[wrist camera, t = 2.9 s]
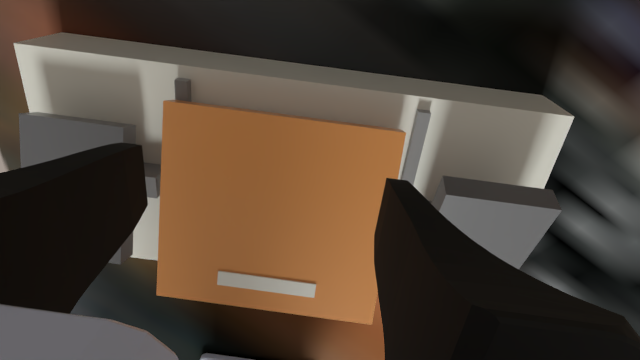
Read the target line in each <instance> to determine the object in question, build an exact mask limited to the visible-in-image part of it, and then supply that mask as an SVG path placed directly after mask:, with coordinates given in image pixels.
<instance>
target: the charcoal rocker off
mask: <svg viewBox="0 0 640 360" xmlns="http://www.w3.org/2000/svg"><path fill="white" fill-rule="evenodd" d="M19 129H20V155H21V168H23V167H27V166H31V165H35V164H39V163H43V162H47V161H50V160H54V159H57V158H61V157H64V156H68V155H71V154H75V153H78V152H82V151H85V150H89V149H93V148H96V147H100V146H104V145H108V144H113V143H121V142H122V143H130V144H136V125H132V124H124V123H117V122H109V121H102V120H94V119H87V118H79V117H72V116H64V115H57V114H49V113H42V112H31V113H19ZM131 255H133V232H132V233H131V234H130V236H129V237H128V238H127V240H126V241H125V242H124V243H123V245H122V246H121V247H120V248H119V250H118V251H117V252H116V253H115V255H114V256H113V257H112V258H111V259H110V261H109V262H108V263H115V264H122V263H123V262H124V261H125V260H127V259H128V258H129V257H130V256H131Z"/></svg>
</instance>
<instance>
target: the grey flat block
mask: <svg viewBox="0 0 640 360" xmlns="http://www.w3.org/2000/svg"><path fill="white" fill-rule="evenodd" d="M431 204H432V205H433V206H434V207H435V208H436V209H437V210H438V211H439V212H440V213H441V214H442V215H443V216H444V217H445V218H447V219H448V220H449V221H450V222H451V223H452V224H453V225H455V226H456V227H457V228H458V229H459V230H461V231H462V232H463V233H464V234H465V235H467V236H468V237H469V238H471V239H472V240H473V241H475V242H476V243H478V244H479V245H480V246H482V247H483V248H485V249H486V250H487V251H489V252H490V253H492V254H493V255H495V256H497V257H498V258H500V259H501V260H503V261H505V262H506V263H508V264H510V265H512V266H513V267H515V268H517V269H519V268H520V267H521V265H522V264H523V263H524V261H525V260H526V259H527V257H528V256H529V254H530V253H531V252H532V250H533V249H534V248H535V246H536V245H537V244H538V242H539V241H540V239H541V238H542V237H543V235H544V234H545V233H546V231H547V230H548V228H549V227H550V226H551V224H552V223H553V222H554V220H555V219H556V218H557V216H558V215H559V213H560V212H561V211H562V209H561V207H560V205H559V203H558V201H557V199H556V196H555V194H554V192H553V190H548V189H541V188H533V187H526V186H518V185H511V184H503V183H496V182H488V181H481V180H473V179H466V178H458V177H451V176H442V178H441V181H440V183H439V186H438V188H437V191H436V193H435V196H434V198H433V201H432V203H431Z"/></svg>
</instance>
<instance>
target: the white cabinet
mask: <svg viewBox="0 0 640 360" xmlns="http://www.w3.org/2000/svg"><path fill="white" fill-rule="evenodd" d="M14 47H15V52H16V56H17V60H18V65H19V69H20V73H21V78H22V82H23V86H24V90H25V95H26V99H27V103H28V108H29V112H30V113H31V112H42V113H49V114H57V115H64V116H72V117H79V118H87V119H94V120H102V121H109V122H117V123H124V124H132V125H136V144H137V145H142V150H143V160H144V170H145V180H146V190H147V200H148V206H147V208H146V209H145V211H144V213H143V215H142V217H141V219H140V220H139V222H138V224H137V225H136V227H135V229H134V230H133V255H131V256H130V257H135V258H142V259H150V260H157V261H158V239H159V210H160V181H161V152H162V123H163V101H165V100H181V101H189V102H196V103H204V104H211V105H219V106H226V107H234V108H242V109H249V110H257V111H264V112H272V113H279V114H287V115H295V116H302V117H310V118H317V119H325V120H332V121H340V122H347V123H355V124H363V125H370V126H378V127H385V128H393V129H400V130H403V131H404V132H406V136H405V141H404V147H403V153H402V158H401V164H400V169H399V175H398V179H399V180H407V181H409V182H410V183H411V184H412V185H413V186H414V187H415V188H416V189H417V190H418V191H419V192H420V193H421V194H422V195H423V196H424V197H425V198H426V199H427V200H428V201H429V202H430V203H432V201H433V198H434V196H435V193H436V191H437V188H438V186H439V183H440V181H441V178H442V176H451V177H458V178H466V179H473V180H481V181H488V182H496V183H503V184H511V185H518V186H526V187H533V188H541V189H544V187H545V185H546V182H547V180H548V178H549V175H550V173H551V171H552V168H553V166H554V164H555V161H556V159H557V157H558V154H559V152H560V150H561V147H562V145H563V143H564V140H565V138H566V135H567V133H568V131H569V128H570V126H571V124H572V121H573V119H574V116H573V115H571V114H570V113H568V112H567V111H565V110H564V109H562V108H561V107H559V106H558V105H556V104H555V103H553V102H552V101H550V100H549V99H547V98H546V97H544V96H543V95H537V94H530V93H522V92H514V91H507V90H499V89H491V88H484V87H476V86H468V85H461V84H453V83H445V82H438V81H430V80H422V79H415V78H407V77H400V76H392V75H384V74H377V73H369V72H361V71H354V70H346V69H338V68H331V67H323V66H315V65H308V64H300V63H293V62H285V61H277V60H270V59H262V58H254V57H247V56H239V55H231V54H224V53H216V52H208V51H201V50H193V49H186V48H178V47H170V46H163V45H155V44H147V43H140V42H132V41H124V40H117V39H109V38H101V37H94V36H86V35H79V34H71V33H63V32H61V33H57V34H52V35H48V36H43V37H39V38H34V39H30V40H25V41H21V42H16V43H14Z"/></svg>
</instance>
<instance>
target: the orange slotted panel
mask: <svg viewBox="0 0 640 360" xmlns="http://www.w3.org/2000/svg"><path fill="white" fill-rule="evenodd" d="M405 136H406V132H404V131H403V130H400V129H393V128H385V127H378V126H370V125H363V124H355V123H347V122H340V121H332V120H325V119H317V118H310V117H302V116H295V115H287V114H279V113H272V112H264V111H257V110H249V109H242V108H234V107H226V106H219V105H211V104H204V103H196V102H189V101H181V100H165V101H163V123H162V152H161V181H160V210H159V239H158V268H157V295H158V296H165V297H173V298H180V299H187V300H195V301H202V302H209V303H216V304H224V305H231V306H238V307H245V308H253V309H260V310H267V311H274V312H282V313H289V314H296V315H304V316H311V317H318V318H325V319H333V320H340V321H347V322H354V323H362V324H369V325H372V321H373V315H374V310H375V304H376V298H377V293H378V289H377V281H376V274H375V266H374V234H375V229H376V224H377V220H378V215H379V210H380V206H381V201H382V196H383V192H384V187H385V183H386V178H392V179H398V175H399V169H400V164H401V158H402V153H403V147H404V141H405Z"/></svg>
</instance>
